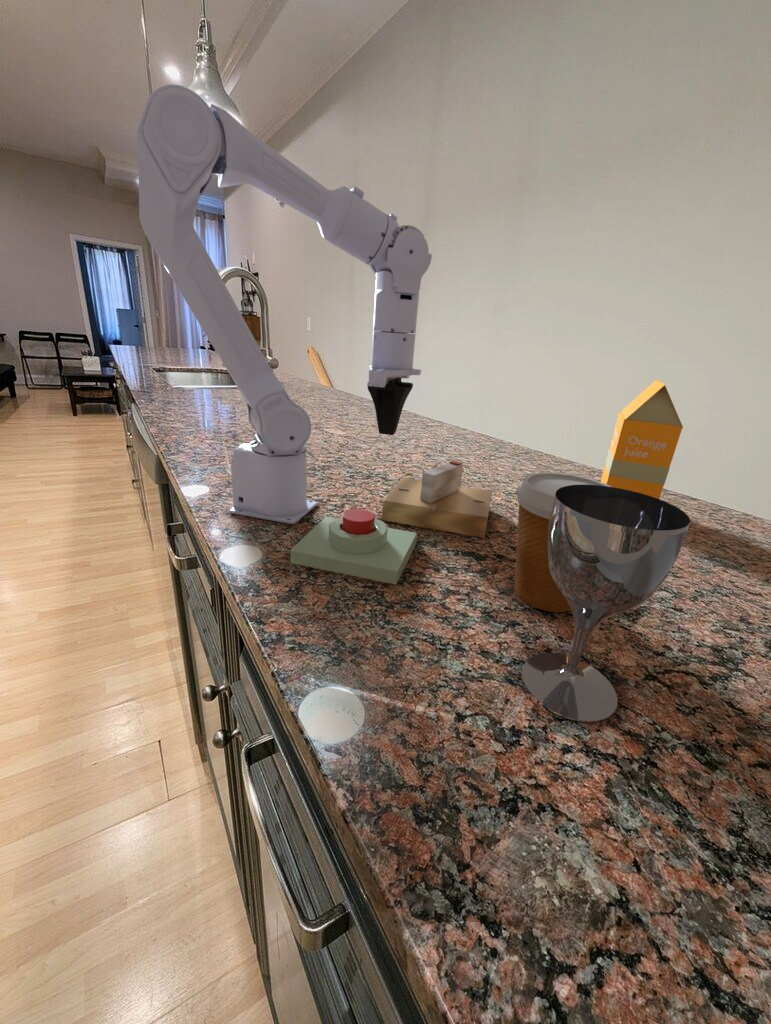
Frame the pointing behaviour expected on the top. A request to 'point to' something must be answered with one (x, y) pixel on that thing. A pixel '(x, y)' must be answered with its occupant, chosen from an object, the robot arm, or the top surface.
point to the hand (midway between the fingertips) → (387, 433)
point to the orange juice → (643, 443)
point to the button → (358, 522)
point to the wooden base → (438, 509)
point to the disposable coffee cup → (539, 539)
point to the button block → (356, 550)
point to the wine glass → (600, 583)
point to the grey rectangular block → (441, 481)
